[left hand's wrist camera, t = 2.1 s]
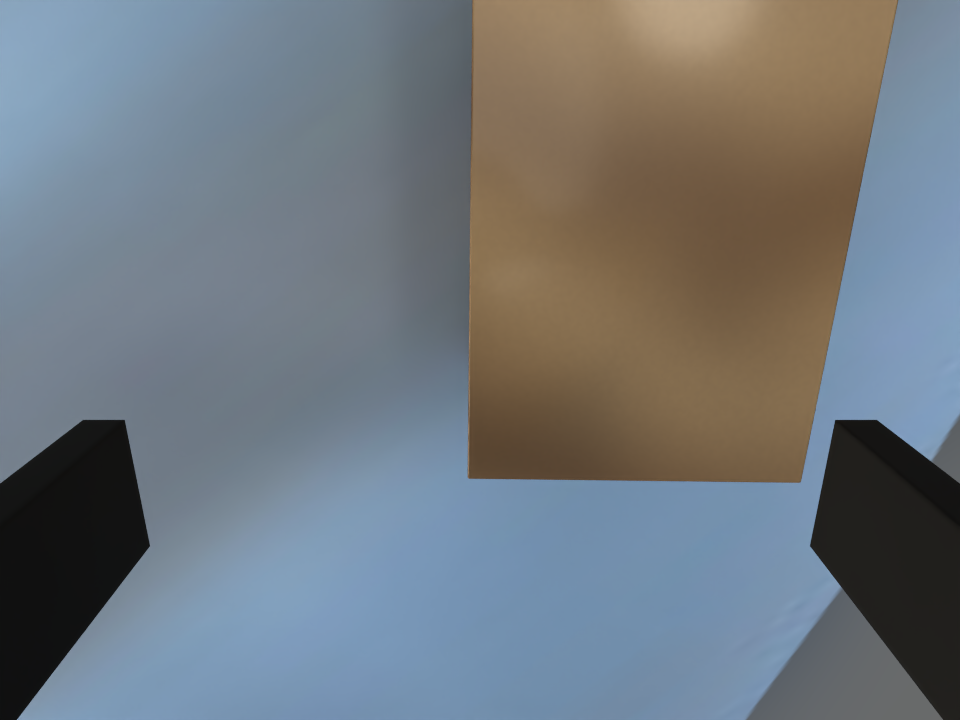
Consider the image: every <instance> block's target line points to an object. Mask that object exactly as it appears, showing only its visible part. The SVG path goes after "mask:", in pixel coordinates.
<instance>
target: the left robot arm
mask: <svg viewBox="0 0 960 720" xmlns="http://www.w3.org/2000/svg"><path fill="white" fill-rule="evenodd" d="M149 547H150V544H149V539H148V534H147V529H146V524H145V519H144V514H143V509H142V504H141V499H140V494H139V489H138V484H137V479H136V474H135V469H134V464H133V459H132V454H131V449H130V444H129V439H128V434H127V429H126V424H125V420H83V421H81V422H80V423H79V424H77V425H76V426H75V427H73V428H72V429H71V430H70V431H68V432H67V433H66V434H64V435H63V436H62V437H60V438H59V439H58V440H56V441H55V442H54V443H53V444H51V445H50V446H49V447H47V448H46V449H45V450H43V451H42V452H41V453H40V454H38V455H37V456H36V457H34V458H33V459H32V460H30V461H29V462H28V463H26V464H25V465H24V466H23V467H21V468H20V469H19V470H17V471H16V472H15V473H13V474H12V475H11V476H10V477H8V478H7V479H6V480H4V481H3V482H2V483H0V720H17V719H18V717H19V716H20V715H21V713H22V712H23V711H24V710H25V708H26V707H27V706H28V704H29V703H30V702H31V700H32V699H33V698H34V697H35V695H36V694H37V693H38V691H39V690H40V689H41V687H42V686H43V685H44V683H45V682H46V681H47V680H48V678H49V677H50V676H51V674H52V673H53V672H54V670H55V669H56V668H57V667H58V665H59V664H60V663H61V661H62V660H63V659H64V657H65V656H66V655H67V653H68V652H69V651H70V650H71V648H72V647H73V646H74V644H75V643H76V642H77V640H78V639H79V638H80V637H81V635H82V634H83V633H84V631H85V630H86V629H87V627H88V626H89V625H90V624H91V622H92V621H93V620H94V618H95V617H96V616H97V614H98V613H99V612H100V610H101V609H102V608H103V607H104V605H105V604H106V603H107V601H108V600H109V599H110V597H111V596H112V595H113V594H114V592H115V591H116V590H117V588H118V587H119V586H120V584H121V583H122V582H123V580H124V579H125V578H126V577H127V575H128V574H129V573H130V571H131V570H132V569H133V567H134V566H135V565H136V564H137V562H138V561H139V560H140V558H141V557H142V556H143V554H144V553H145V552H146V550H147V549H148V548H149ZM810 547H811V548H812V549H813V550H814V552H815V553H816V554H817V556H818V557H819V558H820V560H821V561H822V562H823V564H824V565H825V566H826V567H827V569H828V570H829V571H830V573H831V574H832V575H833V577H834V578H835V579H836V580H837V582H838V583H839V584H840V586H841V587H842V588H843V590H844V591H845V592H846V594H847V595H848V596H849V597H850V599H851V600H852V601H853V603H854V604H855V605H856V607H857V608H858V609H859V610H860V612H861V613H862V614H863V616H864V617H865V618H866V620H867V621H868V622H869V623H870V625H871V626H872V627H873V629H874V630H875V631H876V633H877V634H878V635H879V636H880V638H881V639H882V640H883V642H884V643H885V644H886V646H887V647H888V648H889V650H890V651H891V652H892V653H893V655H894V656H895V657H896V659H897V660H898V661H899V663H900V664H901V665H902V667H903V668H904V669H905V670H906V672H907V673H908V674H909V676H910V677H911V678H912V680H913V681H914V682H915V683H916V685H917V686H918V687H919V689H920V690H921V691H922V693H923V694H924V695H925V696H926V698H927V699H928V700H929V702H930V703H931V704H932V706H933V707H934V708H935V710H936V711H937V712H938V713H939V715H940V716H941V717H942V719H943V720H960V483H958V482H957V481H956V480H954V479H953V478H952V477H950V476H949V475H948V474H947V473H945V472H944V471H943V470H941V469H940V468H939V467H937V466H936V465H935V464H934V463H932V462H931V461H930V460H928V459H927V458H926V457H924V456H923V455H922V454H920V453H919V452H918V451H917V450H915V449H914V448H913V447H911V446H910V445H909V444H907V443H906V442H905V441H904V440H902V439H901V438H900V437H898V436H897V435H896V434H894V433H893V432H892V431H890V430H889V429H888V428H887V427H885V426H884V425H883V424H881V423H880V422H879V421H877V420H835V424H834V429H833V434H832V439H831V444H830V449H829V454H828V459H827V464H826V469H825V474H824V479H823V484H822V489H821V494H820V499H819V504H818V509H817V514H816V519H815V524H814V529H813V534H812V539H811V544H810Z"/></svg>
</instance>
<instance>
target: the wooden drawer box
mask: <svg viewBox="0 0 960 720" xmlns="http://www.w3.org/2000/svg"><path fill="white" fill-rule="evenodd" d="M897 3H898V0H472V94H471V194H470V293H469V393H468V478H469V479H545V480H627V481H709V482H791V483H800V482H801V478H802V473H803V468H804V463H805V458H806V453H807V449H808V444H809V439H810V434H811V429H812V424H813V419H814V414H815V409H816V404H817V399H818V394H819V389H820V384H821V379H822V374H823V369H824V364H825V360H826V355H827V350H828V345H829V340H830V335H831V330H832V325H833V320H834V315H835V310H836V305H837V300H838V295H839V290H840V285H841V280H842V275H843V270H844V266H845V261H846V256H847V251H848V246H849V241H850V236H851V231H852V226H853V221H854V216H855V211H856V206H857V201H858V196H859V191H860V186H861V181H862V177H863V172H864V167H865V162H866V157H867V152H868V147H869V142H870V137H871V132H872V127H873V122H874V117H875V112H876V107H877V102H878V97H879V92H880V88H881V83H882V78H883V73H884V68H885V63H886V58H887V53H888V48H889V43H890V38H891V33H892V28H893V23H894V18H895V13H896V8H897Z"/></svg>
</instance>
